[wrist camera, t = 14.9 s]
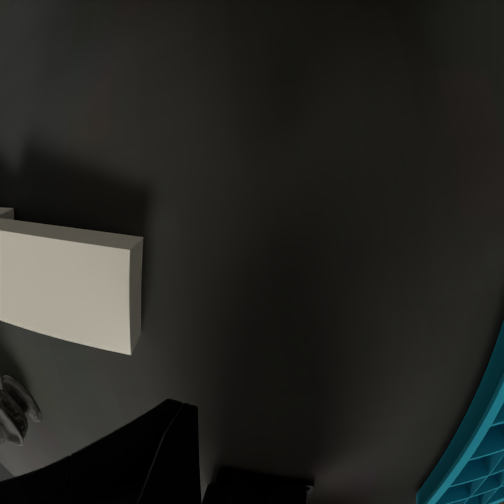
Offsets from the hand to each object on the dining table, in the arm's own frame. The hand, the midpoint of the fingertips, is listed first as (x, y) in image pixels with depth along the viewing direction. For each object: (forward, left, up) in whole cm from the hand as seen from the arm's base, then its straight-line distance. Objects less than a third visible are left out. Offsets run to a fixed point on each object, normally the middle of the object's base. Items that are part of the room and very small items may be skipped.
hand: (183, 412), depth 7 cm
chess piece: (+18, +15, -7) cm, 24 cm away
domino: (+4, 0, -6) cm, 7 cm away
